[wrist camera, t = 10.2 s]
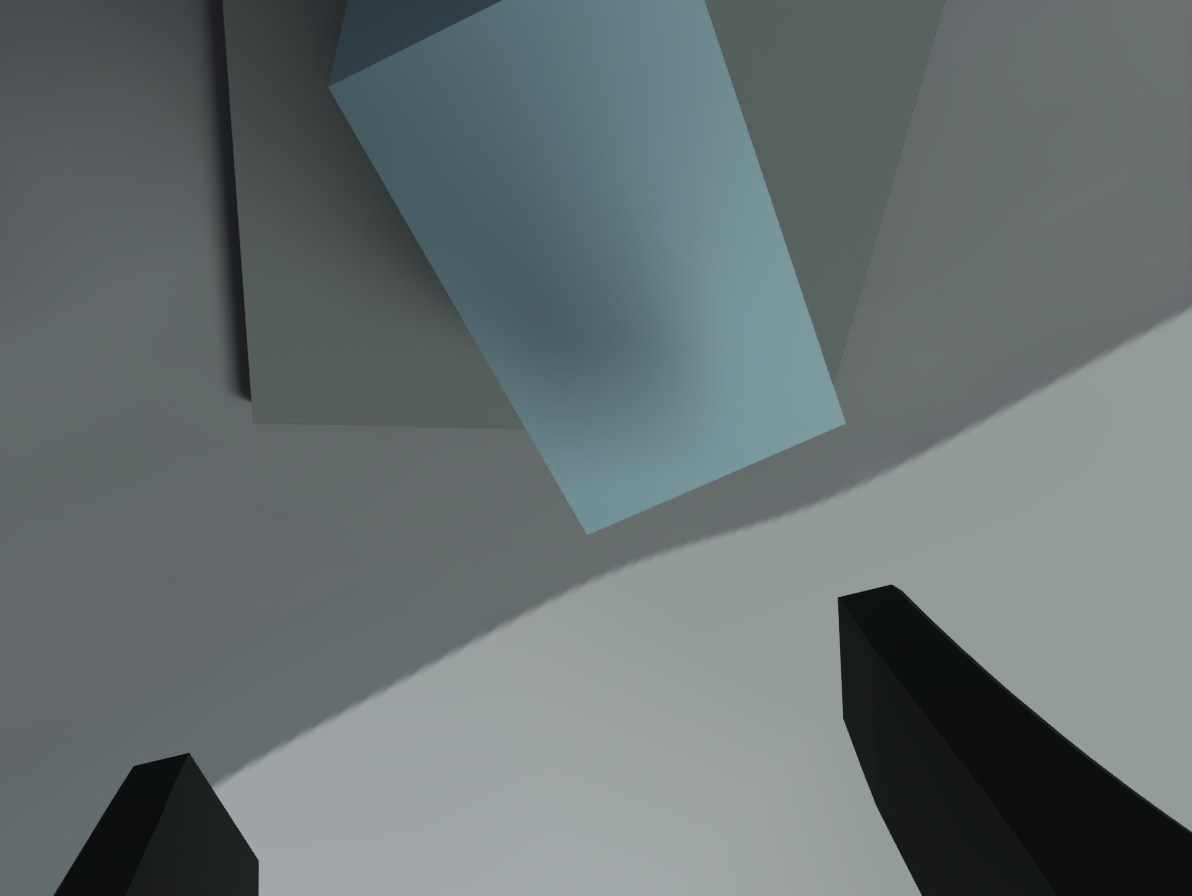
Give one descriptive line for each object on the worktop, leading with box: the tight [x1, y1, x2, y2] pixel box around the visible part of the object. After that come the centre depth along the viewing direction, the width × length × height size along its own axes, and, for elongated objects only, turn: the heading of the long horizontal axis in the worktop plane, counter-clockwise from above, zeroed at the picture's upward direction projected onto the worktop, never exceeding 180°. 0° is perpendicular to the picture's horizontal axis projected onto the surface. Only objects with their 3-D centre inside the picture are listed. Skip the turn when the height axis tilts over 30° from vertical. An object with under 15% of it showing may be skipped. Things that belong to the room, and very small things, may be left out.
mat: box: [222, 0, 945, 429], centre depth 17 cm, size 11×10×1 cm
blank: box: [328, 0, 846, 535], centre depth 15 cm, size 4×7×5 cm, turn 23°
